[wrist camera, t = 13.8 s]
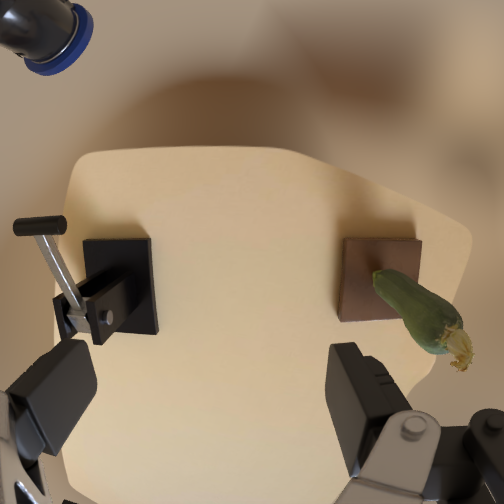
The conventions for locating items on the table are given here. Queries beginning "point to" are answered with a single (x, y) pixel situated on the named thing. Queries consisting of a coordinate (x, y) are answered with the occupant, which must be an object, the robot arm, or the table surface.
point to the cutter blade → (56, 262)
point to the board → (360, 275)
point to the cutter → (114, 290)
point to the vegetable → (426, 316)
